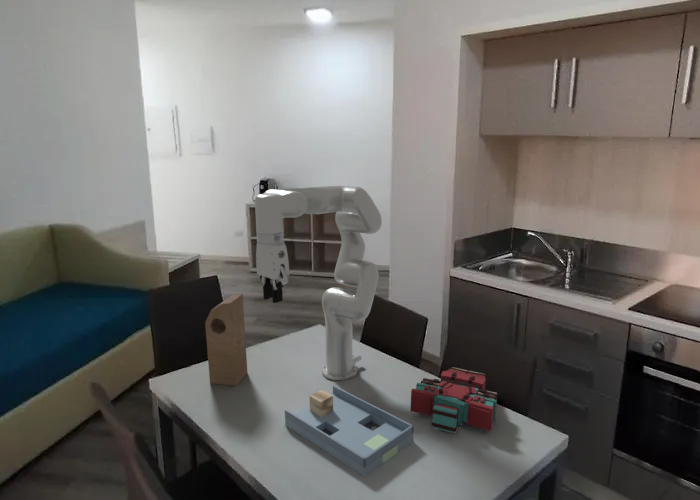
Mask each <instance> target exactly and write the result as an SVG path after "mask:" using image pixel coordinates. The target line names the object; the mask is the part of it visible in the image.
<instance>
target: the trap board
mask: <svg viewBox="0 0 700 500" xmlns="http://www.w3.org/2000/svg"><path fill="white" fill-rule="evenodd" d="M330 394H331V395H333V411H332V412H330V413H328V414H326V415H324V416H323V417H320V416H318V415H316V414H315V413H313V412H311V411H310V404H309V405H307V406H306V407H303V408H300V409H298V410H297V411H296V412H292V411H290V410H288V409H284V421H285V422H284V423H285V426H286V427H287V428H289V429H291V430H292V431H294V432H295V433H296V434H298V435H300V436H301V437H302V438H304V439H306V440H308V441H309V442H310V443H312V444H314V445H315V446H317V447H318V448H320V449H321V450H323V451H324V452H326V453H327V454H329V455H331V456H332V457H334V458H335V459H337V460H339V461H340V462H341V463H343V464H344V465H346V466H348V467H349V468H350V469H352V470H353V471H355V472H357V473H359V474H360V475H361V476H363V477H366V476H367V475H369V474H370V473H371V472H373V471H375V470H376V469H377V468H380V466H382V465H383V464H384V463H385V462H387V461H388V460H391V458H392V457H394V456H395V455H397V454H398V453H400V452H401V451H403V450H404V449H405V448H407V447H408V446H410V444H412V443H414V431H415V430H414V429H415V428H414V425H413V424H412V423H409V422H407V421H405V420H403V419H402V418H399V417H397V416H396V415H394V414H391V413H390V412H388V411H386V410H384V409H381V408H380V407H378V406H375V405H373V404H372V403H370V402H368V401H366V400H364V399H362V398H360V397H357V396H356V395H354V394H352V393H350V392H348V391H346V390H344V389H342V388H340V387H338V386H336V385H333V386H332V393H330Z"/></svg>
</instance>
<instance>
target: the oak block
mask: <svg viewBox="0 0 700 500" xmlns="http://www.w3.org/2000/svg"><path fill="white" fill-rule="evenodd" d="M331 394H332V393H329V392H327V391H325V390H323V389H320V390H318V391H316V392H314V393H312V394H310V395H309V405H310V411H311V412H313V413H315V414H316V415H318V416H320V417H323V416H324V415H326V414H328V413H330V412H332V411H333V395H331Z"/></svg>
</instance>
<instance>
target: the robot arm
mask: <svg viewBox="0 0 700 500" xmlns="http://www.w3.org/2000/svg"><path fill="white" fill-rule="evenodd" d="M254 211H255V229H256V248H255V250H256V251H255V262H256V263H255V265H256V274H257V275H258V277H259V280H260V282H261V285H262V291H263V294H262V295H263V300H265V301H266V300H269V299H272V303H273V304H277V303H280V302H282V301H283V300H284V299H283V297H284V296H283V289H284V287H285V285H287V283H289V276H290V264H289V263H290V261H289V256H288V249H287V245H286V243H285V238H284V237H285V233H284V219H285V218H299V217H301V216H302V215H304V214H307V215H322V214H329V213H335V224H336V226H337V229H338V230H339V234H340V239H341V245H340V250H339V253H338V258H337V260H336V264H335V269H334V272H333V274H334V275H333V277H334V280H335V282H337V283H338V284H341V285H344V286H349V287H352V288H353V287H354V288H357V289H356V290H352V289H349V288H348V289H347V288H343V287H339V286H338V287H337V286H334V287H329V288H328V289H326V290H325V291H324V292H323V294H322V297H321V298H322V299H321V306H322V311H323V315H324V322H325V323H324V325H325V326H324V327H325V364H324V366H322V368H321V375H323V377H324V378H326V379H329V380H333V381H344V380H345V381H346V380H350V379H353V378H354V377H355V376H356V375H357V374H358V368H357V366H356V363H357V362H360V361H362V356H361V355H360V354H359V355H357V356H354V355H353V353H354V352H353V351H354V350H353V333H354V332H353V324H352V323H353V322H352V320H355V321H365V320H366V319H367V318H368V316H369V314H370V313H371V310H372V306H373V302H374V298H375V294H376V290H377V286H378V283H379V278H380V277H379V276H380V275H379V269H378V266H377V264H375V263H373V262H372V261H368V260H364V256H365V251H366V245H365V241H364V239H363V236H362V234H368V235H372V234H376V233H377V232H378V231H379V230H380V229H381V227H382V215H381V211H379V209H378V207H377V206H376V204H375V202H374V200H373V198H372V197H371V196H370V195H369V193H368V192H367V191H366V189H364V188H362V187H360V186H349V185H348V186H347V185H329V186H327V185H326V186H309V187H308V186H307V187H305V186H304V187H295V188H293V187H292V188H291V187H290V188H289V187H288V188H285V187H284V188H272V189H271V188H270V189H268V190H266V191H265V192H263V193H261V194H257V195H256V196H255V199H254ZM277 281H278V282H277Z"/></svg>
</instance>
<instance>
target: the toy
mask: <svg viewBox="0 0 700 500" xmlns="http://www.w3.org/2000/svg"><path fill="white" fill-rule="evenodd" d="M486 381H487V378H486V373H482V372H478V371H472V370H467V369H463V368H458V367H453V366H451V367H450V368H449V369H448V370H447V369H446V370H442V372H441V374H440V379H437V378H429V377H423V378H422V380H421V381H420V382H417V383H416V387H415V388H412V389H411V391H410V410H409V411H410V412H412V413H416V414H420V415H421V414H422V415H428V416H432V420H431V428H433V429H437V430H439V431H441V432H442V431H443V432H447V433H450V434H453V435H454V434H456V432H457V431H458V428H459V426H460V427H462V425H463V422H464V423H466V425H468V426H472V427H475V428H479V429H482V430H484V431H487V432H488V431H489V432H492V430H493V423H494V422H495V421H496V414H497V403H498V393H497V392H494V391H490V390H487V389H486Z"/></svg>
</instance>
